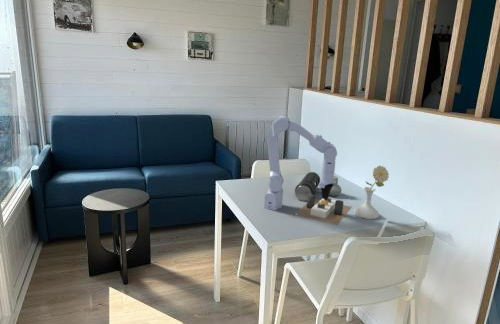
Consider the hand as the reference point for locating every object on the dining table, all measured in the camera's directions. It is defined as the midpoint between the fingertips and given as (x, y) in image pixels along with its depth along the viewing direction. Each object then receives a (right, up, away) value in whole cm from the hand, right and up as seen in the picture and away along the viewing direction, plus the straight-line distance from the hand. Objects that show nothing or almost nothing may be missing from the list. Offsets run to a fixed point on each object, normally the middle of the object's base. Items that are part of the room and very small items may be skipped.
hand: (325, 198), depth 170 cm
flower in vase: (+20, -9, -1) cm, 21 cm away
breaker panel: (0, -7, +2) cm, 7 cm away
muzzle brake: (-9, +4, +27) cm, 29 cm away
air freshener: (+9, -1, +28) cm, 29 cm away
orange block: (0, -3, +1) cm, 3 cm away
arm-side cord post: (-6, -5, +5) cm, 9 cm away
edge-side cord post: (+6, -7, -2) cm, 9 cm away
